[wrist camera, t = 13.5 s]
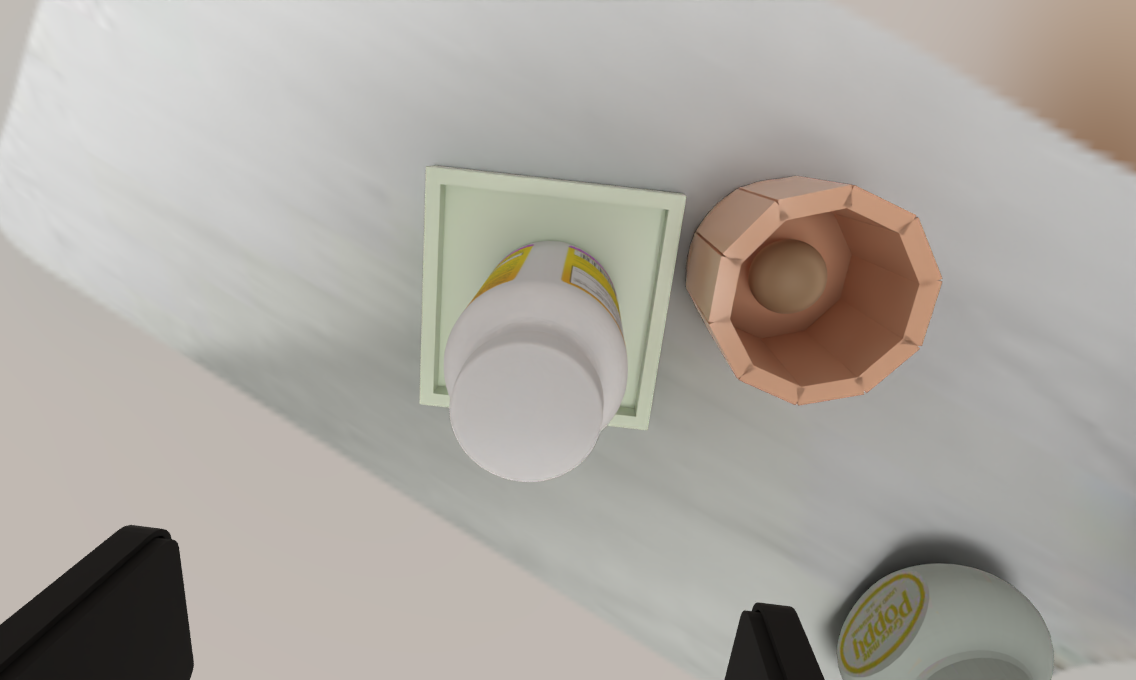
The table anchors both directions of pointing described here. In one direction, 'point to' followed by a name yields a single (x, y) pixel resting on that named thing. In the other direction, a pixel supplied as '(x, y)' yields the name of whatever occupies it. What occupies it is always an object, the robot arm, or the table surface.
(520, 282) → the supplement bottle
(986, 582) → the air freshener
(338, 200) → the table surface
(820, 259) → the cork ball
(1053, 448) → the table surface
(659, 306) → the tray
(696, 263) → the pot
